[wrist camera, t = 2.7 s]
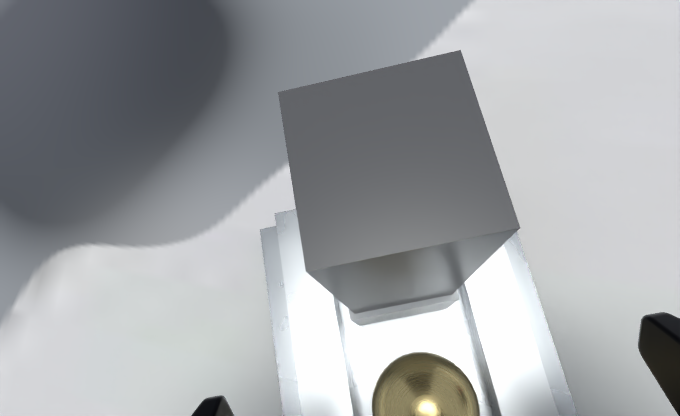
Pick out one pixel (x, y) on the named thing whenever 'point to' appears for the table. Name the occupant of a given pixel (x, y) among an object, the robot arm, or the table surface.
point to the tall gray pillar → (395, 186)
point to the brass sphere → (424, 388)
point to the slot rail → (411, 337)
